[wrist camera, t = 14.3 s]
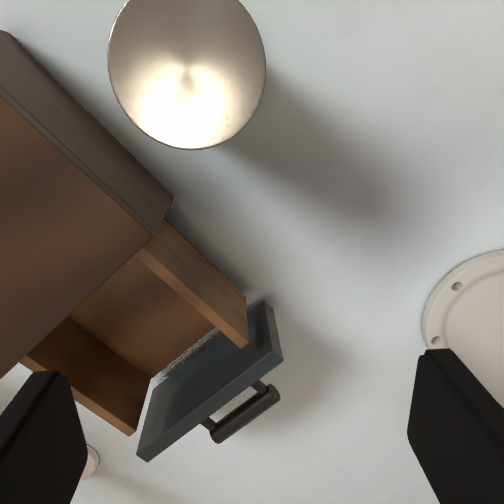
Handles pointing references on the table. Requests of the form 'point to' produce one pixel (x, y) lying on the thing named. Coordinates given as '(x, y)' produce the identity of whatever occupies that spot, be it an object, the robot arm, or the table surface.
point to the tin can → (187, 69)
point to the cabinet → (60, 204)
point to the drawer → (165, 346)
